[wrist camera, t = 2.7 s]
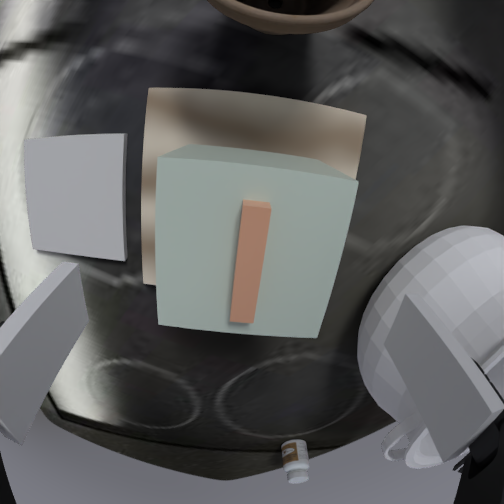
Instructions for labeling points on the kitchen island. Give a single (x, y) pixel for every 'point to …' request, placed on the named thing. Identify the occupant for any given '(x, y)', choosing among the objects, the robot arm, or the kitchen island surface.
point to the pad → (77, 194)
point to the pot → (451, 314)
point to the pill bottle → (295, 460)
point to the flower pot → (292, 14)
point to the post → (240, 136)
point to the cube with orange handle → (248, 239)
